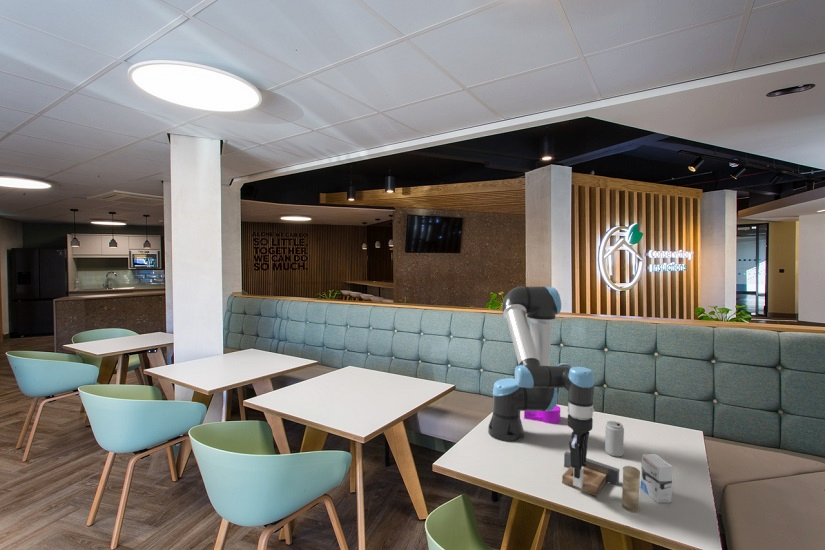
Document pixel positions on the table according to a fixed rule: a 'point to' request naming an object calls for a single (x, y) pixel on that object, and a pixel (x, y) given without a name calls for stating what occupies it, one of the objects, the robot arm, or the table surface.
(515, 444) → the table surface
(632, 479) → the dowel
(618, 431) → the beverage can
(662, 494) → the ink box
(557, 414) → the tape dispenser
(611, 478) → the backstop rail
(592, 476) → the wooden square tray
